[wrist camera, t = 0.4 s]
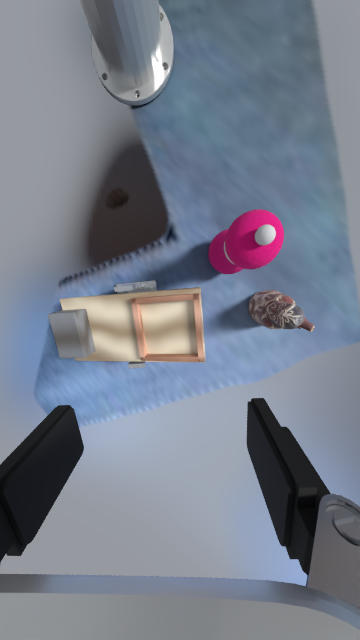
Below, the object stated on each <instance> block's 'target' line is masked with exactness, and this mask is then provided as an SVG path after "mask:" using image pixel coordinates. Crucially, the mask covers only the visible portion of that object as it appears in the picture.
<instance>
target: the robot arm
mask: <svg viewBox="0 0 360 640" xmlns="http://www.w3.org/2000/svg"><path fill="white" fill-rule="evenodd" d="M79 2H80V4H81V7H82V9H83V12H84V15H85V17H86V20H87V22H88V25H89V27H90V30H91V32H92V35H91V51H92V58H93V62H94V66H95V69H96V71H97V74H98V76H99V78H100V80H101V82H102V84H103V86H104V87H105V88H106V90H107V91H108V92H109V93H110V94H111V95H112V96H113V97H114V98H115V99H117V100H118V101H120V102H122V103H125V104H127V105H134V106H135V105H142V104H145V103H148V102H150V101H151V100H153V99H154V98H156V97H157V96H158V95H159V94H160V93H161V91H162V90H163V89H164V87H165V86H166V84H167V81H168V79H169V77H170V74H171V70H172V66H173V59H174V47H173V36H172V31H171V27H170V24H169V21H168V19H167V16H166V14H165V12H164V11H163V9H162V7H161V6H160V5H159V2H158V0H79ZM247 416H248V417H247V448H248V451H249V454H250V458H251V461H252V463H253V466H254V469H255V472H256V475H257V478H258V481H259V484H260V487H261V490H262V493H263V496H264V499H265V502H266V505H267V508H268V510H269V513H270V516H271V519H272V522H273V525H274V528H275V531H276V534H277V537H278V540H279V542H280V544H281V545H282V546H286V549H287V552H288V555H289V557H290V559H298V560H299V562H300V565H301V567H302V570H303V571H304V572H305V573H306V574H307V575H308V576H307V583H306V586H301V585H297V584H292V583H284V582H276V581H268V580H248V579H229V578H228V579H227V578H199V577H198V578H197V577H196V578H195V577H159V576H110V575H45V574H44V575H42V574H40V575H39V574H0V640H360V506H358V505H357V504H355V503H354V502H352V501H351V500H349V499H347V498H345V497H343V496H341V495H336V494H330V492H329V490H328V489H327V487H326V486H325V484H324V483H323V481H322V480H321V478H320V476H319V475H318V473H317V472H316V470H315V469H314V467H313V466H312V464H311V462H310V461H309V460H308V458H307V456H306V455H305V453H304V452H303V450H302V449H301V447H300V445H299V444H298V442H297V441H296V439H295V438H294V436H293V435H292V433H291V431H290V430H289V429H288V428H287V427H281V426H280V424H279V423H278V421H277V420H276V418H275V416H274V414H273V413H272V411H271V410H270V408H269V406H268V404H267V403H266V401H265V399H264V398H253V399H251V402H248V415H247ZM83 450H84V446H83V442H82V438H81V434H80V430H79V427H78V423H77V419H76V415H75V411H74V409H73V408H72V407H71V406H70V405H59V406H57V407H56V408H55V409H54V410H53V411H52V412H51V413H50V414H49V415H48V416H47V417H46V418H45V419H44V420H43V421H42V422H41V423H40V424H39V425H38V426H37V427H36V429H34V430H33V432H31V434H30V435H29V436H28V437H27V438H26V439H25V440H24V441H23V442H22V443H21V444H20V445H19V446H18V447H17V448H16V449H15V450H14V451H13V452H12V453H11V454H10V455H9V456H8V457H7V458H6V460H4V461H3V462H2V464H1V465H0V563H1V560H2V559H3V557H4V556H5V554H7V555H8V556H21V555H22V552H23V551H24V549H25V548H26V546H27V544H29V543H30V542H31V541H32V540H33V539H34V537H35V535H36V534H37V532H38V530H39V529H40V527H41V525H42V523H43V522H44V520H45V518H46V516H47V515H48V513H49V511H50V509H51V508H52V506H53V504H54V502H55V501H56V499H57V497H58V495H59V494H60V492H61V490H62V489H63V487H64V485H65V483H66V482H67V480H68V478H69V476H70V474H71V473H72V471H73V469H74V468H75V466H76V464H77V462H78V461H79V459H80V457H81V455H82V453H83Z"/></svg>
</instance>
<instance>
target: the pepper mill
mask: <svg viewBox="0 0 360 640" xmlns="http://www.w3.org/2000/svg"><path fill="white" fill-rule="evenodd" d="M283 239H284V230H283V226H282V224H281V222H280V220H279V219H278V218H277V217H276V216H275V215H274V214H272V213H271V212H269V211H266V210H252V211H248V212H246V213H244V214H242V215H241V216H239V217H238V218H237V219H236V220H235V221H234V222H233V223H232V225H231V226H230V228H229V229H227V230H224V231H222V232H221V233H219V234H218V235H217V236H216V237H215V238H214V239H213V240H212V242H211V244H210V247H209V252H208V255H209V261H210V263H211V265H212V266H213V268H214V269H215V270H217V271H218V272H220V273H223V274H233V273H236V272H239V271H241V270H242V269H243V268H244V269H256V268H260V267H262V266H265V265H266V264H268V263H270V262H271V261H272V260H273V259H274V258H275V257H276V255H277V254H278V253H279V251H280V249H281V247H282V244H283Z"/></svg>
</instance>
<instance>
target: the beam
mask: <svg viewBox="0 0 360 640" xmlns="http://www.w3.org/2000/svg"><path fill="white" fill-rule="evenodd" d="M60 302H61V306H62V311H58V312H54V313H50V314H48V317H49V320H50V324H51V327H52V331H53V334H54V338H55V342H56V345H57V349H58V352H59V356H60V358H75V360H76V361H145V362H205V345H204V331H203V316H202V302H201V288H200V287H197V288H184V289H172V290H160V291H148V292H135V293H123V294H111V295H98V296H86V297H74V298H64V299H60Z"/></svg>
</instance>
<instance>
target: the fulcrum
mask: <svg viewBox="0 0 360 640" xmlns="http://www.w3.org/2000/svg"><path fill="white" fill-rule="evenodd" d="M114 291H115V292H118V294H123V293H135V292H148V291H157V283H156V280H154V281H144V282H134V283H124V284H116V287H114ZM146 364H147V362H145V361H130V362H129V364H128V366H129V368H142V367H146Z"/></svg>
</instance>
